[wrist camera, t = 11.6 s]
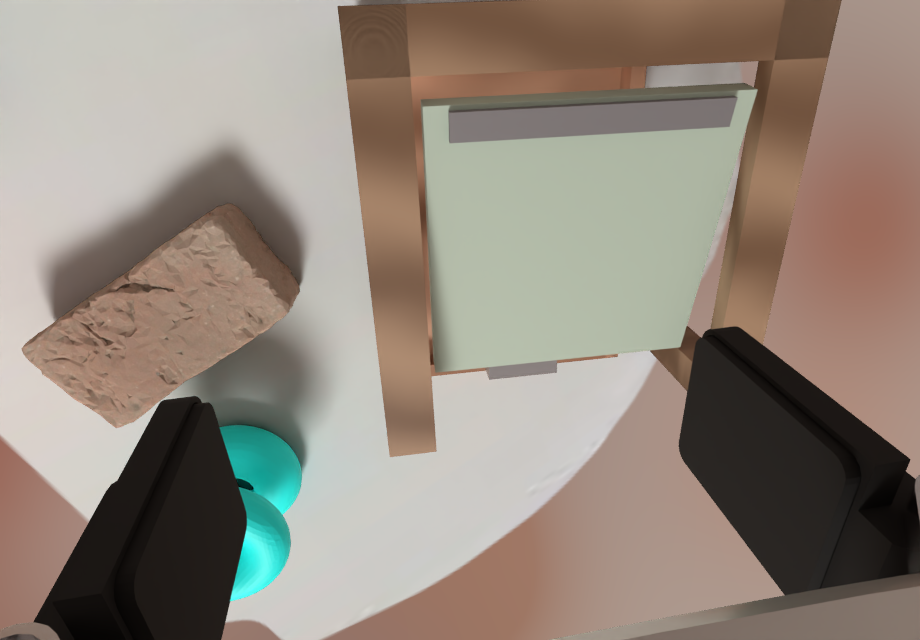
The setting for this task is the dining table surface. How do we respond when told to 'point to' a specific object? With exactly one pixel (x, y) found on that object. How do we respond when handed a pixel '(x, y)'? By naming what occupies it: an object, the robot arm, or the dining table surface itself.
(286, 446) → the donuts
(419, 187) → the frame
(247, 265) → the brick
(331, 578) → the dining table surface
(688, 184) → the trapdoor
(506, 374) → the grey squarish block
